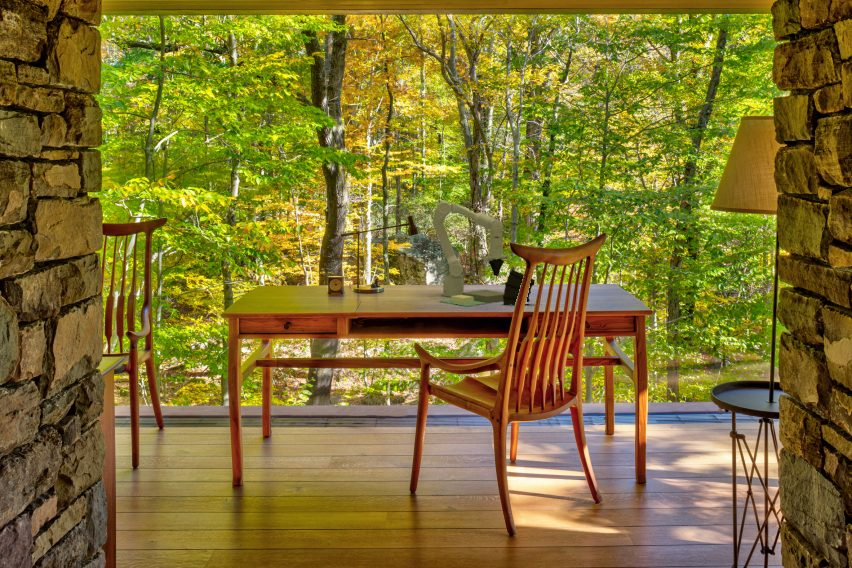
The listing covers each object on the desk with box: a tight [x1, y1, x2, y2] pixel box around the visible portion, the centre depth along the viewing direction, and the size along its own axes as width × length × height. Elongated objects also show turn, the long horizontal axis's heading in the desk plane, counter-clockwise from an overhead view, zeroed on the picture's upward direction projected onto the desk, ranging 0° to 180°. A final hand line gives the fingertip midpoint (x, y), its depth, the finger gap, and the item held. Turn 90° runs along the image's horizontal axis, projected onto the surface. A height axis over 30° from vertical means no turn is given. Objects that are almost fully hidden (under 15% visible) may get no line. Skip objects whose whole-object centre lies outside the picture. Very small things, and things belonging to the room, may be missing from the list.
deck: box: [463, 289, 504, 304], centre depth 352 cm, size 16×14×3 cm
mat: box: [439, 298, 488, 308], centre depth 344 cm, size 18×12×1 cm, turn 40°
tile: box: [450, 295, 474, 304], centre depth 343 cm, size 8×6×2 cm
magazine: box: [502, 268, 536, 306], centre depth 338 cm, size 4×13×15 cm, turn 84°
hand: (496, 275), depth 362 cm, fingers closed
